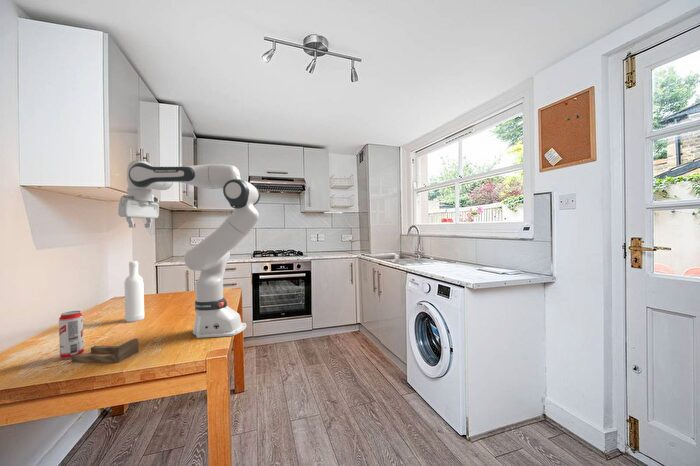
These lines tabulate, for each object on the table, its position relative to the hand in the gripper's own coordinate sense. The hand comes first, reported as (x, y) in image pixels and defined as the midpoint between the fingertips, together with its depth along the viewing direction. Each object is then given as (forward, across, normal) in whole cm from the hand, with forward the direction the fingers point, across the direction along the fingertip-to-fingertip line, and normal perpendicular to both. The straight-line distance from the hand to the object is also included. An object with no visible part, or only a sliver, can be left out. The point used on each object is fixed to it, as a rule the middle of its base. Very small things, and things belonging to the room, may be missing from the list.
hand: (140, 227), depth 128 cm
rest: (+47, -26, -7) cm, 54 cm away
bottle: (+47, +16, +16) cm, 52 cm away
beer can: (+47, -26, +7) cm, 54 cm away
